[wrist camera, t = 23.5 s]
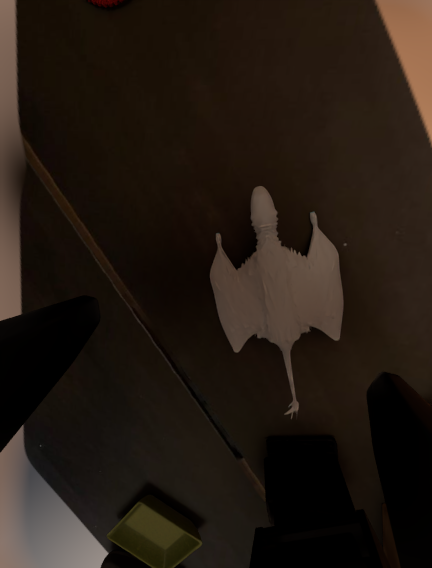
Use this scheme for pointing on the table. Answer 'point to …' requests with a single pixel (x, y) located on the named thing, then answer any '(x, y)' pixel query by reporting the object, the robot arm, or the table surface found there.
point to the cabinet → (389, 540)
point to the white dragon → (278, 287)
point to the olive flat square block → (156, 534)
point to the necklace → (105, 2)
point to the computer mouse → (122, 560)
